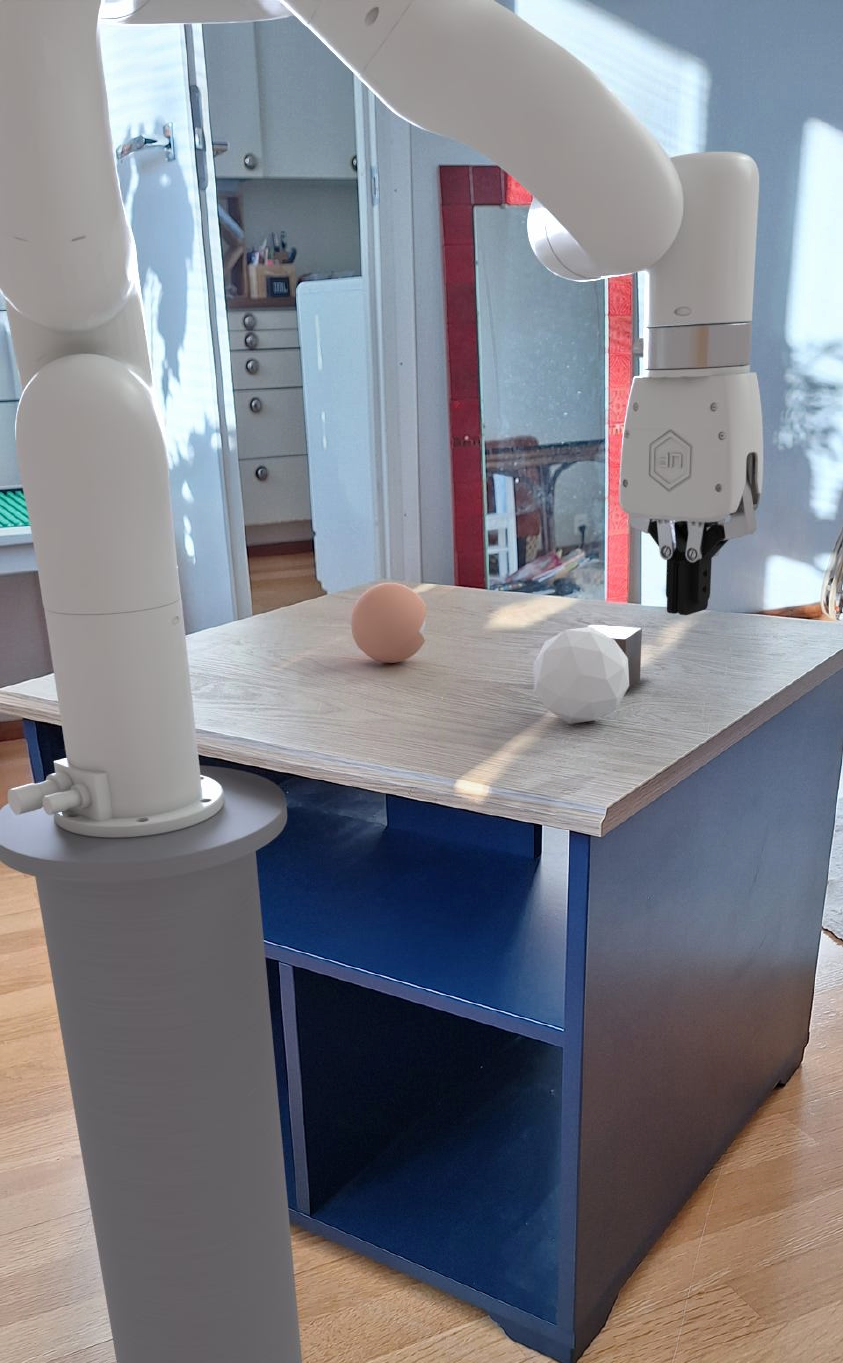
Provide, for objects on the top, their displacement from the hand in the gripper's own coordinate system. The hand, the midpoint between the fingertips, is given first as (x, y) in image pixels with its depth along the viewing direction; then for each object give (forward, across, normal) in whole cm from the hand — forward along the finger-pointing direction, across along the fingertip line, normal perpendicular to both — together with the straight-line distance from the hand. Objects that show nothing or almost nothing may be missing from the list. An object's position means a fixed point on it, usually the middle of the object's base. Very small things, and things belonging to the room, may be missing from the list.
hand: (687, 610), depth 100 cm
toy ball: (+10, -38, +4) cm, 40 cm away
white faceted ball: (+10, -11, 0) cm, 15 cm away
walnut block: (+10, -15, +10) cm, 21 cm away
